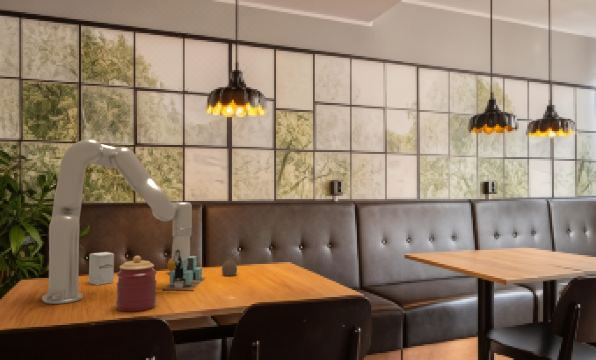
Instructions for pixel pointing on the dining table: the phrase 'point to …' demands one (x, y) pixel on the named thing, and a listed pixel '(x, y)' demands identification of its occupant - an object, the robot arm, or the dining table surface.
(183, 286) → the rail board
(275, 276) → the dining table surface
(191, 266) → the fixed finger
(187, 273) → the teal block toy
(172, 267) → the apple
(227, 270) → the vase
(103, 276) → the supplement box
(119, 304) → the canister
